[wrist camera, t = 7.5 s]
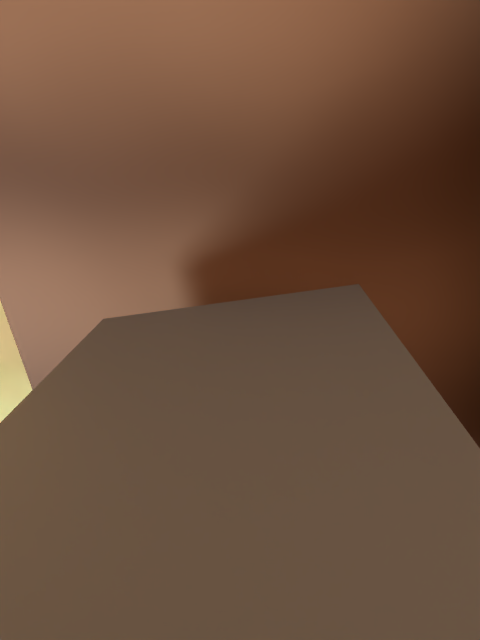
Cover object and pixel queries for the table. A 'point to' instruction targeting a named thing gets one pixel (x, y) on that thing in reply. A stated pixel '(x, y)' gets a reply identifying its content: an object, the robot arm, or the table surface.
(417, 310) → the shelf board
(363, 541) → the carton
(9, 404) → the table surface
